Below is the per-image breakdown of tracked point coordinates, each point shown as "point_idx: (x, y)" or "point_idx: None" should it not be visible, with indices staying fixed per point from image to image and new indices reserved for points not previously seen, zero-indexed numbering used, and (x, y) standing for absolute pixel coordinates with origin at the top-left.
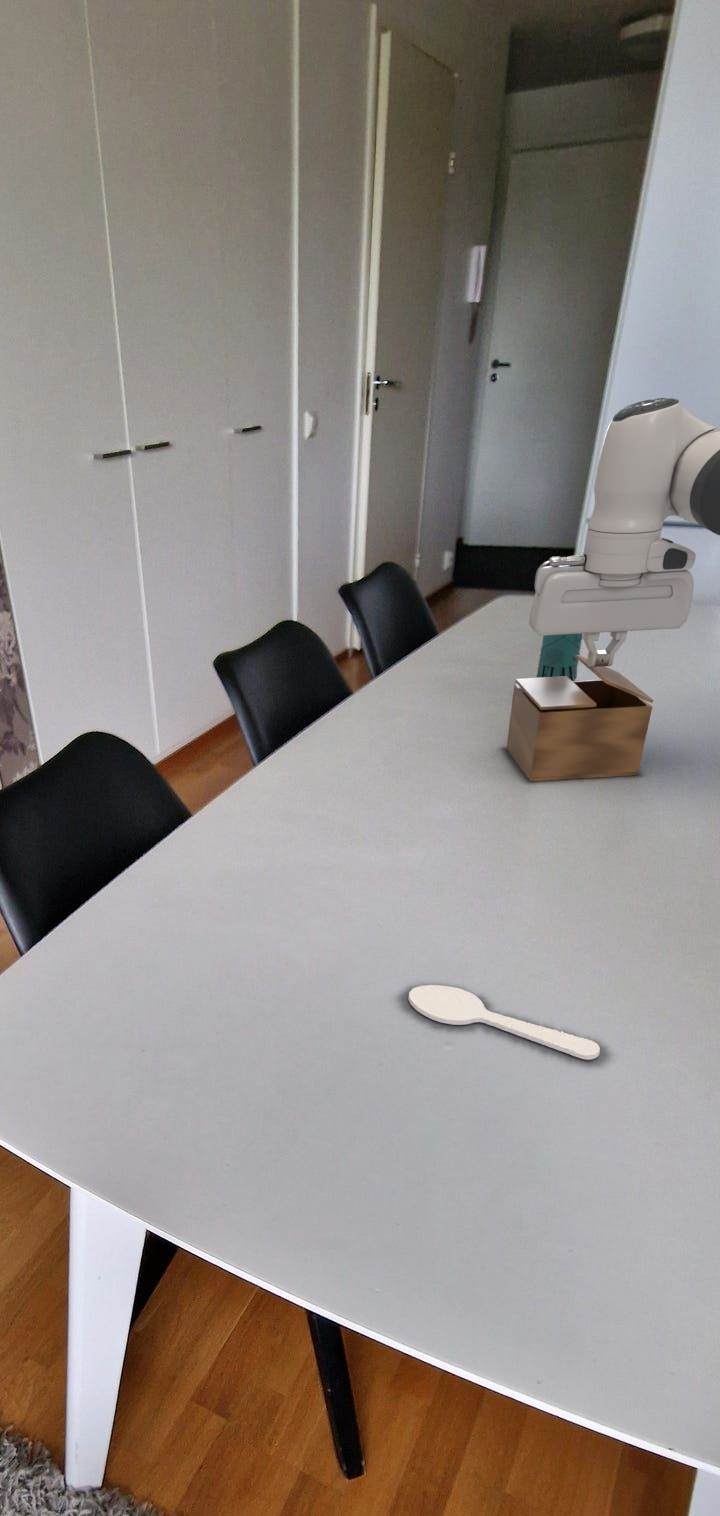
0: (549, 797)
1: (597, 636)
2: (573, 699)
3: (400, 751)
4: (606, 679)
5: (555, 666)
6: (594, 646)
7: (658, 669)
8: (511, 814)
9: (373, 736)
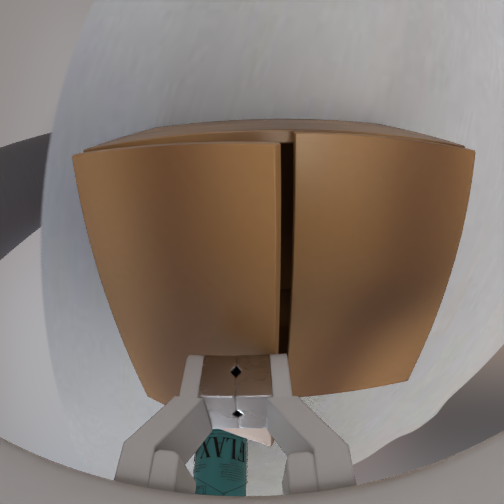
0: (363, 44)
1: (297, 474)
2: (362, 201)
3: (484, 286)
4: (273, 167)
5: (229, 459)
6: (298, 426)
7: (105, 446)
8: (433, 9)
9: (479, 332)
